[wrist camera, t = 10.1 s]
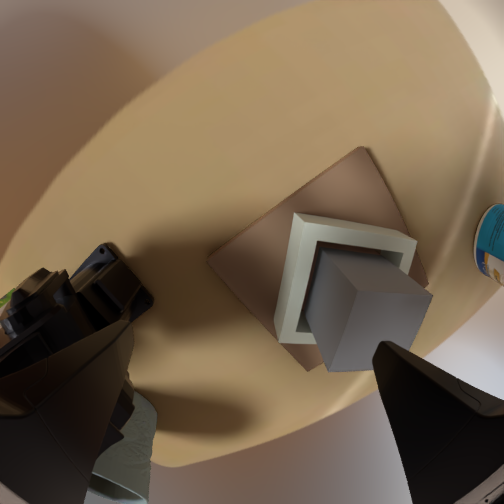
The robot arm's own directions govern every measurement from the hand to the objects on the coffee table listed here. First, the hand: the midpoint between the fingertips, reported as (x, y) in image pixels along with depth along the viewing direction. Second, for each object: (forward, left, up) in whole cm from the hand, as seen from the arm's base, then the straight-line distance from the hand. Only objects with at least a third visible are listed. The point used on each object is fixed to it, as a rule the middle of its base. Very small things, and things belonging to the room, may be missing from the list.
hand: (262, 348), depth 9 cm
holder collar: (+4, -6, -12) cm, 14 cm away
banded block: (+4, -6, -11) cm, 13 cm away
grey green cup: (-24, -7, -12) cm, 28 cm away
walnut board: (+4, -6, -12) cm, 14 cm away
